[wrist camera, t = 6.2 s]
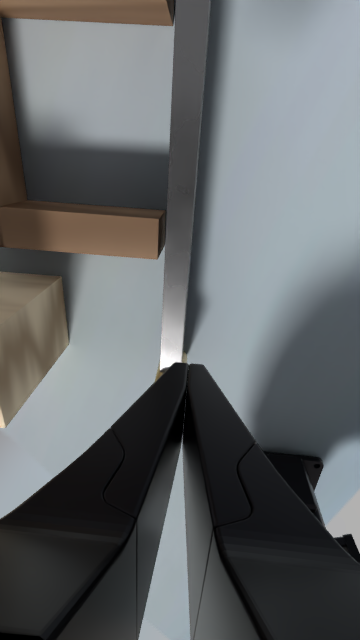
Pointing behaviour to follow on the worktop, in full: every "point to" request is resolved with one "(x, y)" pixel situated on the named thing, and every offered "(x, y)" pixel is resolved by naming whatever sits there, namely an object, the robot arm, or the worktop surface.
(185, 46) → the bar
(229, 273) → the worktop surface
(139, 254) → the walnut cradle
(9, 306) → the birch block
